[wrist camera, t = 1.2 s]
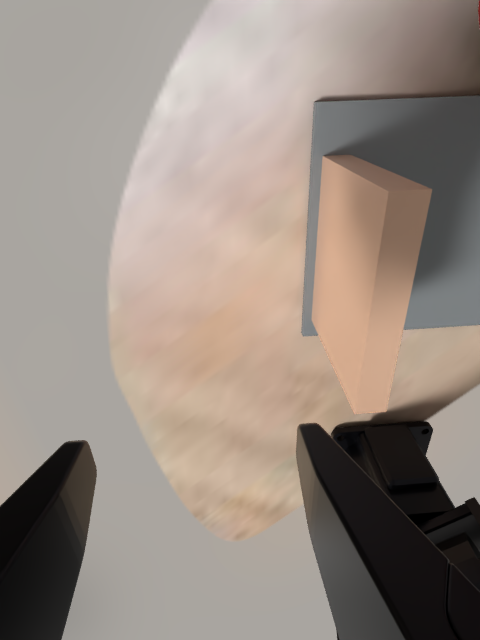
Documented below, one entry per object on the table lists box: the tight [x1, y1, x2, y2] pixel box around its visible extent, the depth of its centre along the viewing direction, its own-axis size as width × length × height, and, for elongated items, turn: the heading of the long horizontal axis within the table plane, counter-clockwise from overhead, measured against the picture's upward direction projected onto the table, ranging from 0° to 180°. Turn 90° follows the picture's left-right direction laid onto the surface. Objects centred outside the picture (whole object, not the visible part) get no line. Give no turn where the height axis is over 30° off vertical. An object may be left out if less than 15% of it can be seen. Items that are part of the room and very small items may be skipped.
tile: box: [311, 155, 432, 414], centre depth 16 cm, size 8×1×7 cm, turn 2°
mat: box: [301, 95, 480, 336], centre depth 19 cm, size 11×10×1 cm
